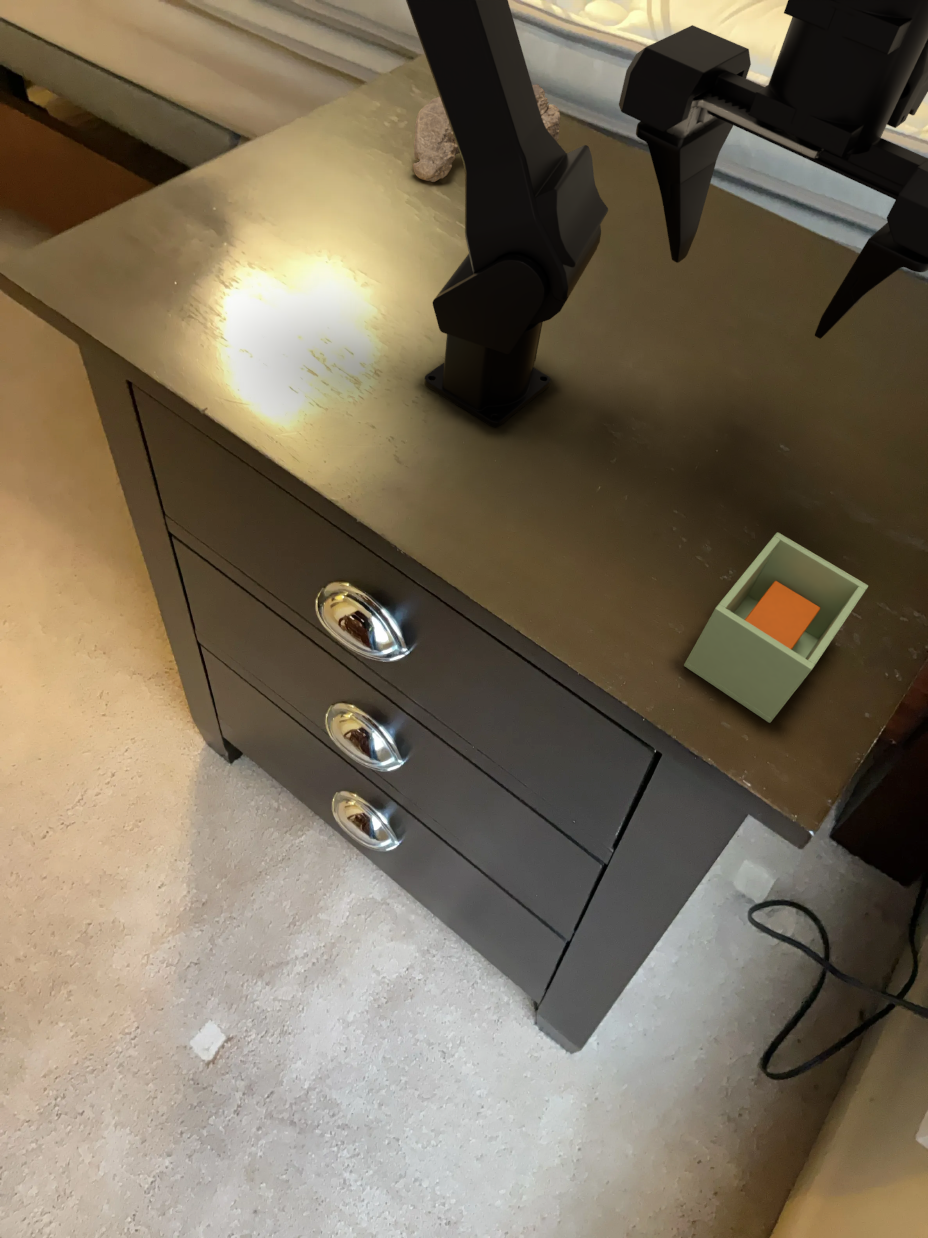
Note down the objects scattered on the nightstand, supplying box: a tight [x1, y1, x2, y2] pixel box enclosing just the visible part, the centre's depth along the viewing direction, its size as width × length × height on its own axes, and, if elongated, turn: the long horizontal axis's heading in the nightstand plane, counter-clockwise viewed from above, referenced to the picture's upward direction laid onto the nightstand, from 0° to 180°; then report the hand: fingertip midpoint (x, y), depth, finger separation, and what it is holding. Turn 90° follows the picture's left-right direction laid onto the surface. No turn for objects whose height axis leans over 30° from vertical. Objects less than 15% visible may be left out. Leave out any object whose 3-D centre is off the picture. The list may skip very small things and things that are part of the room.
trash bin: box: [683, 532, 869, 724], centre depth 46 cm, size 7×5×5 cm
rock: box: [412, 83, 561, 183], centre depth 75 cm, size 6×14×7 cm, turn 113°
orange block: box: [745, 581, 820, 650], centre depth 47 cm, size 4×3×3 cm, turn 141°
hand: (747, 295), depth 48 cm, fingers open, 9 cm apart
